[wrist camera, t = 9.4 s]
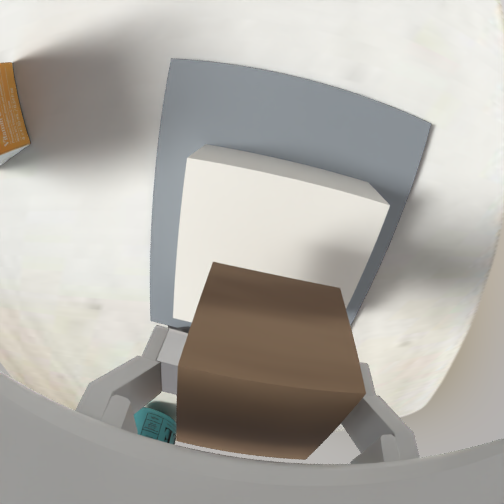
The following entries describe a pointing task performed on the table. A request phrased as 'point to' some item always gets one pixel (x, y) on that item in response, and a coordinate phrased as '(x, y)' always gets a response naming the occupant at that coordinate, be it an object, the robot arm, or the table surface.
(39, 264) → the table surface
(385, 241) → the plain slate board
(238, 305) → the walnut block
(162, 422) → the beverage bottle
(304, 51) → the table surface
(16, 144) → the small box
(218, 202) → the white plinth
